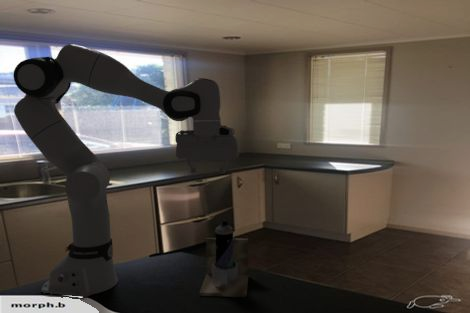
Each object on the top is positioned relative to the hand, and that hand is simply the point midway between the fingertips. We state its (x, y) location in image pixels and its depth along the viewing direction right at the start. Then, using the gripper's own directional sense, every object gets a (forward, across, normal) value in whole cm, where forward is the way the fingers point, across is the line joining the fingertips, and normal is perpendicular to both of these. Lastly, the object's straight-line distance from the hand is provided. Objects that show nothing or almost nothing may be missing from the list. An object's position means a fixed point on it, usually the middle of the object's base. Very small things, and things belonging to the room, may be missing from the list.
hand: (207, 172), depth 115 cm
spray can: (+34, +6, -6) cm, 35 cm away
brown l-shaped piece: (+35, +6, -6) cm, 36 cm away
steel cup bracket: (+34, +6, -5) cm, 35 cm away
